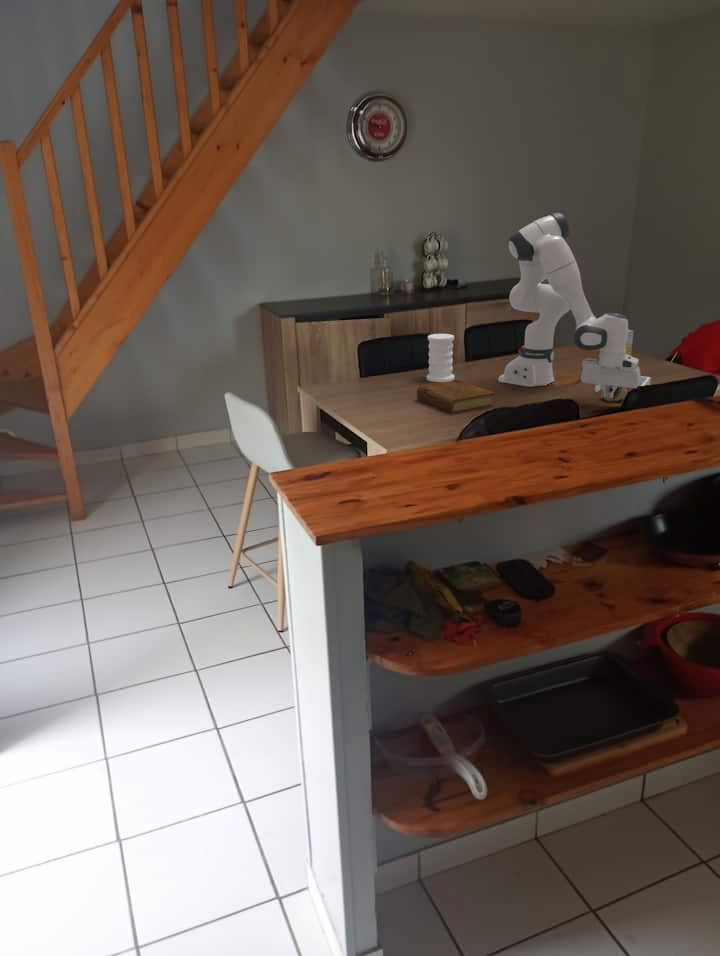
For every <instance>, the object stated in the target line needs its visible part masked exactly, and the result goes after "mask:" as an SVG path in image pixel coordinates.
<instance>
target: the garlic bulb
mask: <svg viewBox="0 0 720 956" xmlns="http://www.w3.org/2000/svg"><path fill="white" fill-rule="evenodd" d="M600 387H601V389H600V395H601V398H602V399H603V400H605V401H607V402H610V403H611V402H618V401H620V400H623V398H624V396H625V395H626V394H627V393H628V391H627V388H626V387H617V389H616V390H615V392H614V393H613V398H607V397H604V392H603V390H602V385H600ZM606 390H607V392H612V391H613V389H612V386H607V387H606Z"/></svg>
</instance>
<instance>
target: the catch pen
mask: <svg viewBox="0 0 720 956" xmlns="http://www.w3.org/2000/svg"><path fill="white" fill-rule="evenodd" d="M651 379H652V377H651V376H644V375H643V376H642V375H640V385H639V386H645V385H650V386H651ZM594 385H595V387H594V392H595V393H598V392H600V391H601V387H600V385H597V384H594Z"/></svg>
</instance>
